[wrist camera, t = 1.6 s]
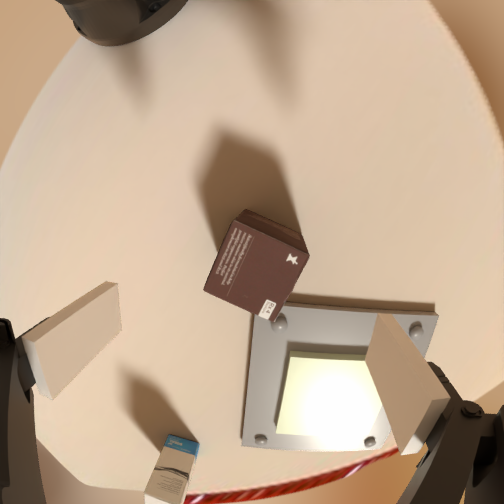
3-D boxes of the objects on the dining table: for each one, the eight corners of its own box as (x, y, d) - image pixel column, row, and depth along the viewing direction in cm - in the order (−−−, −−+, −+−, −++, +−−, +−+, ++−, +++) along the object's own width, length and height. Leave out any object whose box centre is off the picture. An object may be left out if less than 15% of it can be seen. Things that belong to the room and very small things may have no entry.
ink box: (168, 432, 36) (142, 492, 25) (201, 442, 36) (180, 506, 24) (165, 460, 38) (143, 513, 27) (194, 469, 38) (177, 524, 27)
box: (245, 206, 27) (233, 216, 20) (304, 234, 28) (312, 254, 20) (219, 263, 29) (200, 291, 22) (275, 290, 29) (273, 324, 22)
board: (256, 298, 29) (254, 308, 27) (435, 312, 28) (443, 320, 26) (242, 440, 35) (240, 452, 33) (379, 444, 33) (382, 454, 31)
